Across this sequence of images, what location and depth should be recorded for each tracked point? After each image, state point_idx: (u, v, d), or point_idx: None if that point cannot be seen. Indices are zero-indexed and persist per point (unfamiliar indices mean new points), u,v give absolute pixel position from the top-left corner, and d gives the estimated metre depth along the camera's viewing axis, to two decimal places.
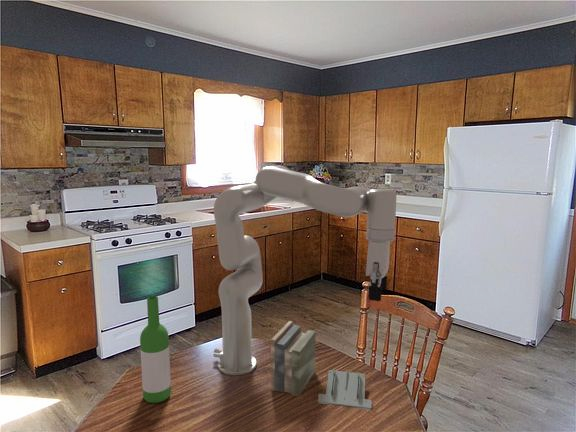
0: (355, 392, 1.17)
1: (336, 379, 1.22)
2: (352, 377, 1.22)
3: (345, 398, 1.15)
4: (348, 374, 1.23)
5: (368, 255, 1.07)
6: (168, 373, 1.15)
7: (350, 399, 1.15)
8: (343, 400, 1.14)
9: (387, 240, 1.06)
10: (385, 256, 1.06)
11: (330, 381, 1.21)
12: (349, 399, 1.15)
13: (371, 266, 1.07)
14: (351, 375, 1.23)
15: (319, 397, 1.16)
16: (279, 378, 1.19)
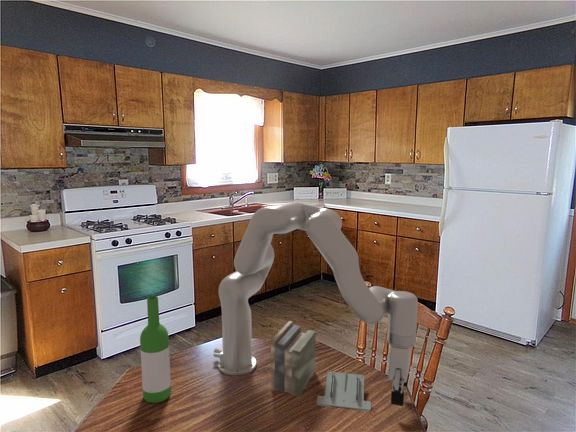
0: (354, 394, 1.16)
1: (335, 381, 1.21)
2: (351, 378, 1.21)
3: (344, 400, 1.14)
4: (347, 375, 1.22)
5: (390, 360, 1.08)
6: (168, 373, 1.15)
7: (349, 401, 1.14)
8: (342, 402, 1.14)
9: (409, 346, 1.07)
10: (407, 362, 1.07)
11: (329, 383, 1.20)
12: (348, 401, 1.14)
13: (393, 372, 1.07)
14: (350, 376, 1.22)
15: (318, 399, 1.15)
16: (279, 378, 1.19)
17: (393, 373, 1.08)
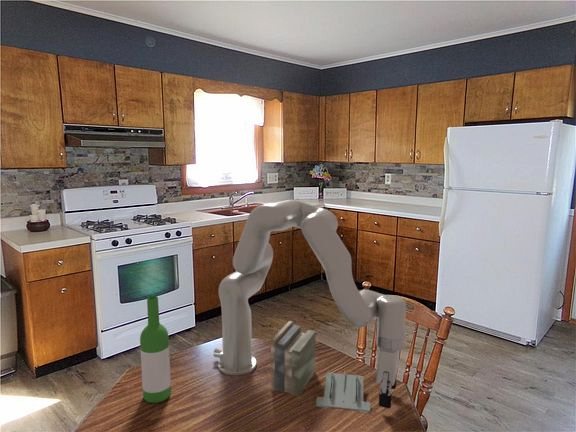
0: (353, 395, 1.16)
1: (334, 382, 1.20)
2: (350, 379, 1.21)
3: (344, 401, 1.14)
4: (346, 376, 1.22)
5: (378, 363, 1.09)
6: (168, 373, 1.15)
7: (349, 402, 1.13)
8: (342, 403, 1.13)
9: (397, 349, 1.08)
10: (395, 365, 1.08)
11: (328, 384, 1.20)
12: (348, 402, 1.13)
13: (381, 374, 1.09)
14: (349, 377, 1.21)
15: (317, 400, 1.14)
16: (279, 378, 1.19)
17: (381, 376, 1.09)
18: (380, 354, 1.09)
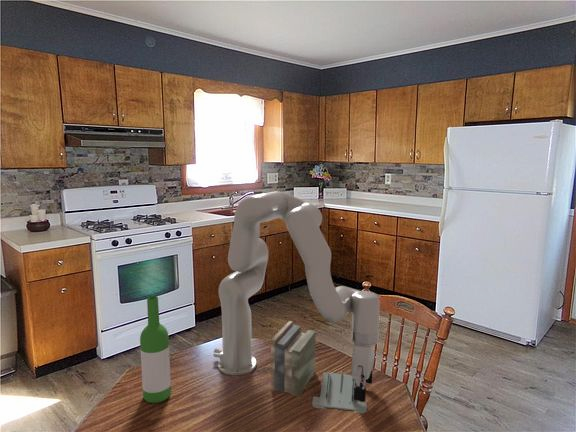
0: (350, 394, 1.16)
1: (330, 381, 1.20)
2: (347, 379, 1.21)
3: (340, 401, 1.14)
4: (343, 376, 1.22)
5: (353, 358, 1.12)
6: (168, 373, 1.15)
7: (345, 402, 1.13)
8: (338, 403, 1.13)
9: (371, 344, 1.11)
10: (369, 359, 1.11)
11: (324, 384, 1.19)
12: (344, 402, 1.13)
13: (356, 369, 1.11)
14: (346, 377, 1.21)
15: (313, 400, 1.14)
16: (279, 378, 1.19)
17: (355, 370, 1.12)
18: (354, 349, 1.12)
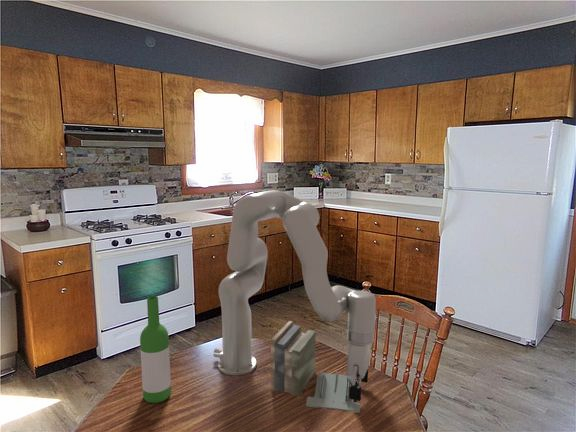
0: (344, 395, 1.16)
1: (325, 382, 1.20)
2: (341, 380, 1.21)
3: (334, 401, 1.14)
4: (337, 376, 1.22)
5: (348, 357, 1.12)
6: (168, 373, 1.15)
7: (339, 402, 1.13)
8: (332, 403, 1.13)
9: (366, 343, 1.12)
10: (364, 359, 1.11)
11: (319, 384, 1.20)
12: (338, 402, 1.13)
13: (351, 368, 1.12)
14: (340, 377, 1.21)
15: (307, 400, 1.14)
16: (279, 378, 1.19)
17: (351, 369, 1.12)
18: (350, 348, 1.12)
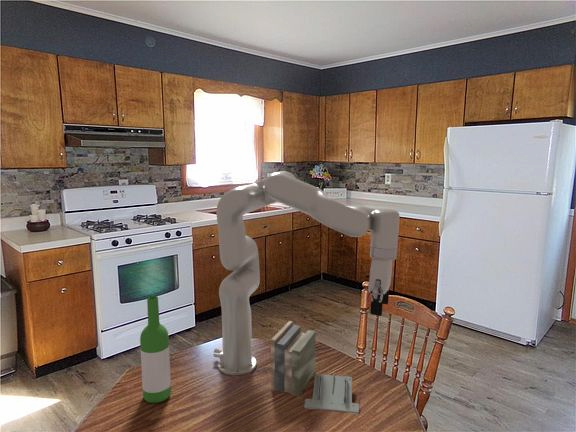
0: (342, 396, 1.15)
1: (323, 383, 1.19)
2: (339, 381, 1.20)
3: (332, 402, 1.13)
4: (335, 378, 1.21)
5: (371, 272, 1.13)
6: (168, 373, 1.15)
7: (337, 403, 1.13)
8: (330, 405, 1.12)
9: (389, 259, 1.12)
10: (387, 274, 1.12)
11: (316, 385, 1.19)
12: (336, 403, 1.13)
13: (373, 283, 1.13)
14: (338, 379, 1.21)
15: (306, 402, 1.13)
16: (279, 378, 1.19)
17: (373, 284, 1.13)
18: (373, 263, 1.13)
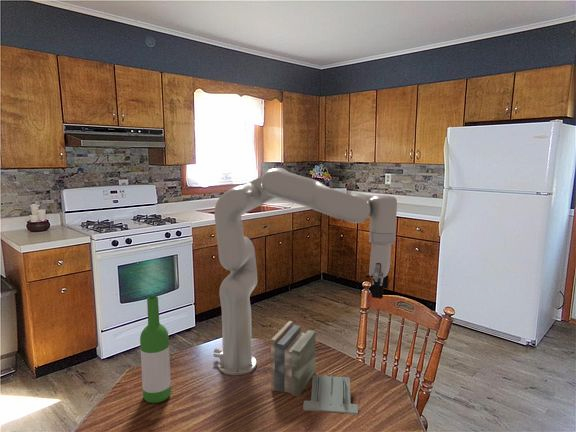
0: (341, 397, 1.15)
1: (321, 384, 1.19)
2: (337, 381, 1.20)
3: (331, 404, 1.12)
4: (332, 378, 1.21)
5: (371, 256, 1.17)
6: (168, 373, 1.15)
7: (336, 405, 1.12)
8: (329, 406, 1.12)
9: (388, 243, 1.16)
10: (386, 257, 1.16)
11: (315, 387, 1.18)
12: (335, 405, 1.12)
13: (374, 266, 1.17)
14: (336, 379, 1.20)
15: (304, 404, 1.13)
16: (279, 378, 1.19)
17: (373, 268, 1.17)
18: (372, 247, 1.17)
